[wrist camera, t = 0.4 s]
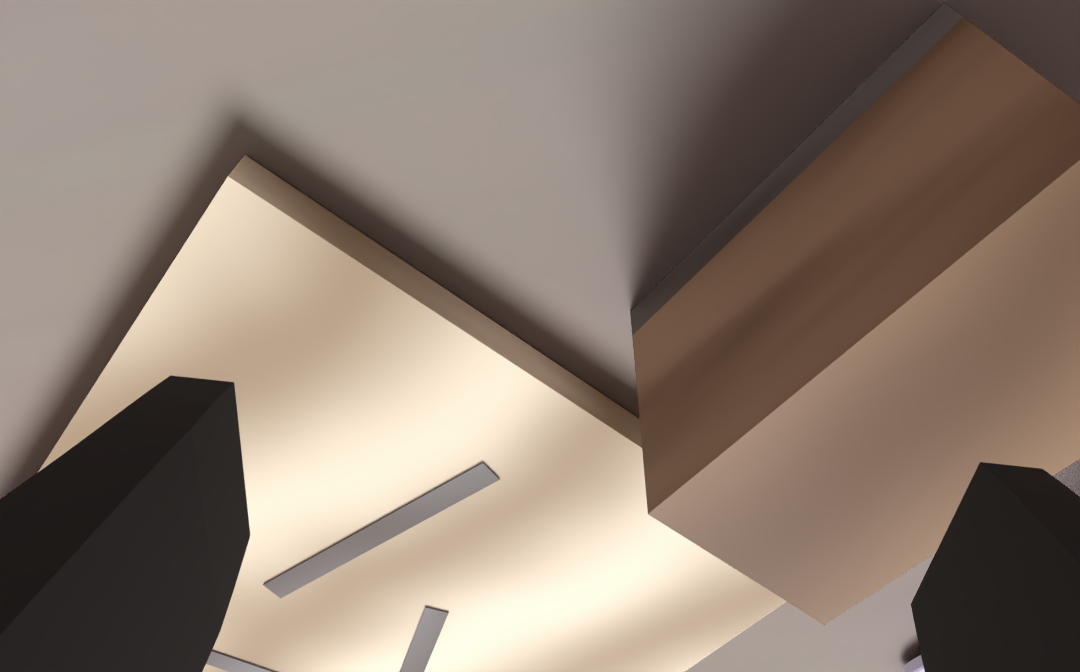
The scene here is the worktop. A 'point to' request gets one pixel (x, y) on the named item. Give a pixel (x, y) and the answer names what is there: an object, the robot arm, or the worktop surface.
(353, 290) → the board
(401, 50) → the worktop surface
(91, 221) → the worktop surface
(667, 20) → the worktop surface
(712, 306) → the block
